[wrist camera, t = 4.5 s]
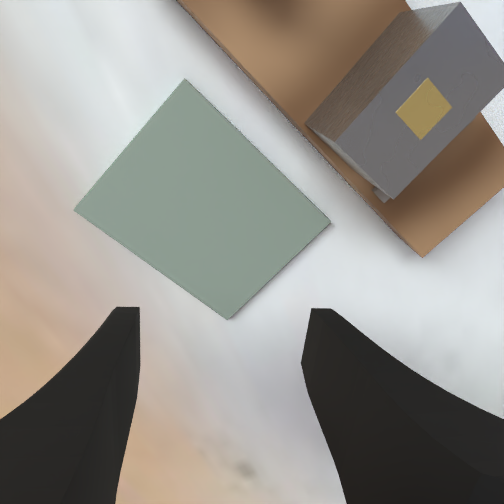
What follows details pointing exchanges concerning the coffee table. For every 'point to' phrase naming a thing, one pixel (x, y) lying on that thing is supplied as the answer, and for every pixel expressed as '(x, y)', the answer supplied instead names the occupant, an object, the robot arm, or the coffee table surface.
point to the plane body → (326, 79)
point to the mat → (202, 204)
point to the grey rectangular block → (409, 95)
